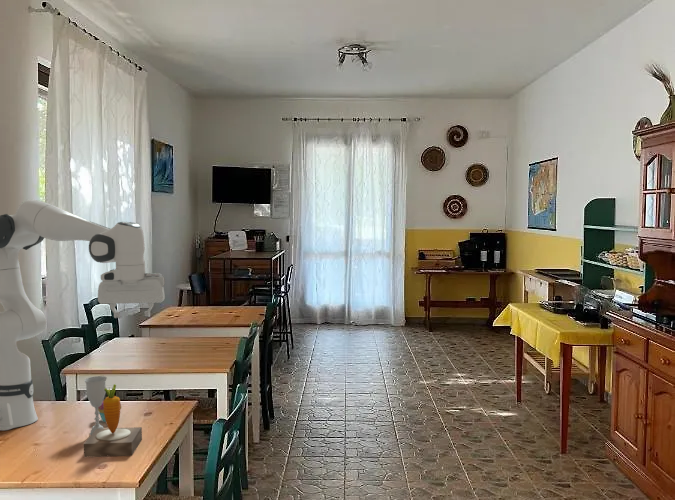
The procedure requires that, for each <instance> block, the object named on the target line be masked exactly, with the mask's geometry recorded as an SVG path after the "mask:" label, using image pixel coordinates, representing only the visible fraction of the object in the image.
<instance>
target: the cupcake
mask: <svg viewBox="0 0 675 500" xmlns="http://www.w3.org/2000/svg"><path fill="white" fill-rule="evenodd" d="M107 389H108V391H111V389H110V387H108V388H107ZM109 393H110V392H109ZM107 397H109V396H108V395H107ZM103 401H104V400H103ZM121 409H122V404H121V402H120V410H121ZM98 411H99V417H100V420H101V421H102V422H103V423H106V420H105V415H104V405H103V402H102V404H101V406H99V407H98Z"/></svg>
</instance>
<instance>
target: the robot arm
mask: <svg viewBox="0 0 675 500" xmlns="http://www.w3.org/2000/svg"><path fill="white" fill-rule="evenodd" d="M45 239H47V240H50V241H56V242H69V241H72V242H73V241H83V242H84V241H85V242H88V252H89V256H90V257H91V258H92V259H93V261H95V262H97V263H102V264H106V263H107V264H108V263H115V269H111V270H108V271H105V272H103V273H102V274H100V280H101V282H100V283H99V284H98V290H97V301H98V303H99V304H100V305H109V309H110V310H111V312H112V313H113V318H114V319H119V318H120V317H121V315H120V314H121V313H120V311H118V310H117V309H116V306H117V305H118V304H119V305H120V304H121V305H122V304H147V307H148V309H147V310H145V311H144V312H143V313H144V318H150V317H151V311H152V309H153V307H154V305H155V303H162V302H164V301H165V298H166V295H165V288H164V286H165V284H166V283H165V282H166V281H165V280H166V279H165V276H164V275H162V274H161V273H159V272H156V273H152V272H151V273H150V272H149V273H146V261H145V258H144V254H145V250H146V249H145V236H144V231H143V228H142V226H141V225H140V224H139V223H137V222H132V221H130V222H129V221H119V222H117V223H115V225H114V226H112V227H111V228H110V227H108V226H105V225H102V224H99V223H96V222H93V221H90V220H88V219H85V218H84V217H81V216H78V215H76V214H74V213H71V212H69V211H67V210H65V209H63V208H61V207H59V206H57V205H54V204H52V203H49V202H45V201H43V200H38V199H26V200H24V201H23V202H21V204H19V205H18V207H17V209H16V212H15V213H14V214H8V213H4V214H1V215H0V305H1V306H2V308H3V311H0V431H9V430H12V429H15V428H19V427H25V426H27V425H31V424H33V423H35V422H37V421H38V419H39V417H38V415H37V412H36V409H35V403H34V397H33V396H34V384H33V379H32V371H31V370H32V369H31V366H32V365H31V359H30V357H29V356H28V355H27V354H25V353H24V352H22V351H20V350H19V348H18V345H17V343H18V342H19V341H23V340H24V341H25V340H28V339H32V338H34V337H36V336H38V335H41V334H42V333H43V332H44V331H45V330H46V328H47V318H46V315H45V313H44V312H43V310H42V309H40V308H38V307H37V306H35V304H34V303H33V302H32V301H31V300H30V299H29V297H28V295H27V293H26V291H25V288H24V284H23V277H22V273H21V267H20V260H19V254H20V251H21V250H22V249H23V250H25V251H27V250H30V249H31V248H32V247H34V246H36V245H38V244H40V243H42V242H43V241H44V240H45Z"/></svg>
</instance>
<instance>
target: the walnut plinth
mask: <svg viewBox="0 0 675 500" xmlns="http://www.w3.org/2000/svg"><path fill="white" fill-rule="evenodd" d="M103 428H104V429H96V430H95V431H94V432H93V434H92V435H90V436H89V437H88V438H87V439H86V440H85V442H83V458H97V457H101V458H102V457H123V456H124V457H125V456H133V454H134V453H135V452H136V451H137V448H138V447H139V446H140V444H141V442H142V440H143V430H142V429H143V427H142V426H141V427H140V426H138V427H137V426H136V427H117V429H116V431H115V432H114V434H113V433H111V431H110V430H109V428H108V427H106V428H105V427H103Z"/></svg>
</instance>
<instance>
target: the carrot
mask: <svg viewBox="0 0 675 500" xmlns="http://www.w3.org/2000/svg"><path fill="white" fill-rule="evenodd" d="M116 388H117V385H116V383H115V384H113V386H112V388H111V389H110V391H108V389H109V388H107V387H106V388H105V389H104V390H105V391H106V393H105V394H106V395H107V396H106V397H104V401H103V405H104V415H105V420H106V422H105V423H106V426H107V428H109V430H110V431H111V433H113V434H114V432H115V431H116V429H117V428H118V426H119V423H120V422H119V421H120V417H121V409H120V403H121V399H120V397H119V396H116V395H115V393H116ZM109 392H110V393H109ZM108 396H109V397H108Z"/></svg>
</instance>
